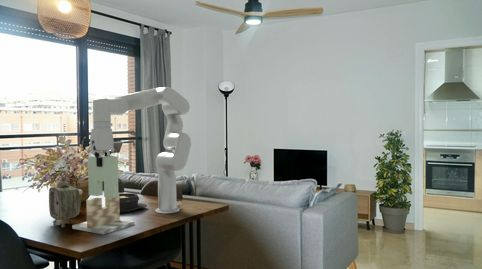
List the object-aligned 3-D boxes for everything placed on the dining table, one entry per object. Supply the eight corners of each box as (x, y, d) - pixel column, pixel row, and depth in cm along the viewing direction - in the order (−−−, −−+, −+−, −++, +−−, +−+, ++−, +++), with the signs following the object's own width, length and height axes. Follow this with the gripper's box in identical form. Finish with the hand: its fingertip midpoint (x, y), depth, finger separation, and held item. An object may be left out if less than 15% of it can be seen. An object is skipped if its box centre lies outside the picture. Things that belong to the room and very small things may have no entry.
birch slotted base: (104, 219, 189) (103, 192, 188) (134, 224, 179) (134, 195, 178) (72, 228, 173) (71, 198, 173) (103, 234, 163) (102, 202, 163)
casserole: (104, 217, 194) (103, 200, 194) (95, 211, 209) (94, 195, 209) (152, 211, 208) (151, 195, 208) (140, 205, 223) (140, 190, 223)
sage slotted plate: (93, 194, 181) (93, 155, 180) (118, 196, 173) (117, 156, 172) (88, 195, 178) (87, 156, 178) (113, 197, 170) (112, 157, 170)
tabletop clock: (49, 223, 182) (48, 170, 181) (69, 220, 188) (68, 169, 188) (60, 229, 172) (59, 173, 171) (81, 225, 178) (80, 171, 177)
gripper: (110, 125, 184) (111, 164, 184) (81, 125, 169) (81, 167, 170) (121, 125, 180) (122, 164, 180) (92, 125, 166) (93, 168, 166)
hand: (102, 165), depth 175 cm, fingers closed on sage slotted plate, 3 cm apart
